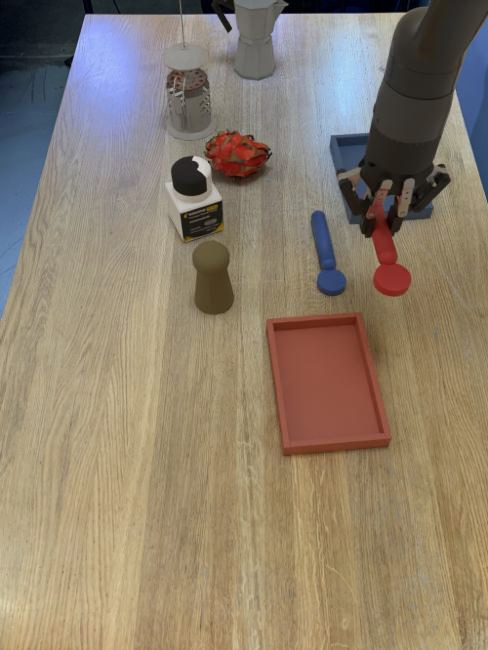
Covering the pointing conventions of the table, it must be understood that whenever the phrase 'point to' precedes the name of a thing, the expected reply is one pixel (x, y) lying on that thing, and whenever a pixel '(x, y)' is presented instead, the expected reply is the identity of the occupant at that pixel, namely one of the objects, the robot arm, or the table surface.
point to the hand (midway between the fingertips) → (378, 232)
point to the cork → (212, 278)
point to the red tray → (325, 384)
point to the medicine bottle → (194, 199)
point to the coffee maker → (253, 34)
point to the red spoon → (388, 260)
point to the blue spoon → (326, 257)
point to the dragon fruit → (236, 154)
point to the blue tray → (348, 156)
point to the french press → (188, 91)
